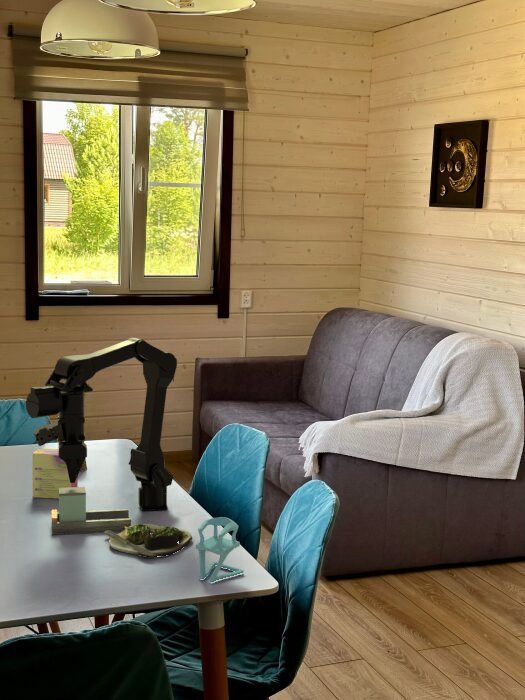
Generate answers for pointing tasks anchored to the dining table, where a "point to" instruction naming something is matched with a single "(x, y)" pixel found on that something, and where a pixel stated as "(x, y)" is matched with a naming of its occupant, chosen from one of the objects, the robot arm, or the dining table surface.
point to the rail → (93, 522)
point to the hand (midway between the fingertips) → (72, 477)
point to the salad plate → (149, 540)
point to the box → (49, 474)
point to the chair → (217, 547)
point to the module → (72, 504)
